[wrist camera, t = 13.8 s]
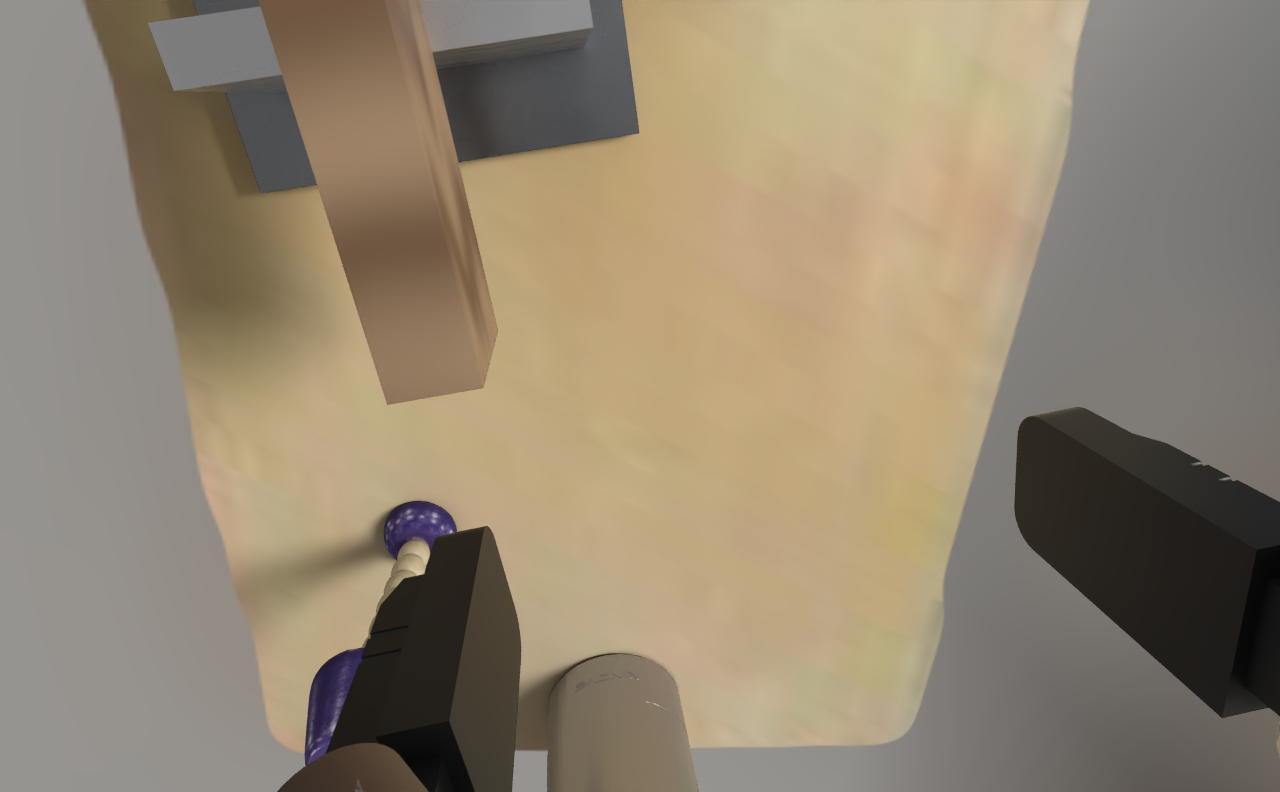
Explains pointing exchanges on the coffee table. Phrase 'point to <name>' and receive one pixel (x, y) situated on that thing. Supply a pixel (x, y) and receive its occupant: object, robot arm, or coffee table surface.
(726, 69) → the coffee table surface
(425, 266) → the brown wooden plank
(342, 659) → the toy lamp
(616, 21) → the ridge stand
